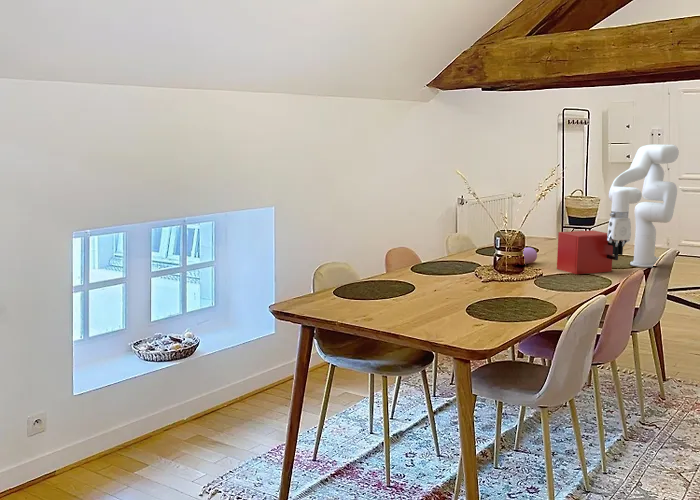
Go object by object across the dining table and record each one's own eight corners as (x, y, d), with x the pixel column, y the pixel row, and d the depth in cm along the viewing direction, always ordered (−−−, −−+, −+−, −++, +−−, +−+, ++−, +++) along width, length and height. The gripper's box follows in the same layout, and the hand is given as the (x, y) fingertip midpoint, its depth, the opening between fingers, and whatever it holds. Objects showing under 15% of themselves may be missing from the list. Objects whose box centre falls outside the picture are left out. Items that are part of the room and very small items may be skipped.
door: (620, 273, 332) (623, 236, 329) (585, 276, 325) (587, 238, 322) (610, 271, 339) (612, 234, 336) (575, 273, 332) (576, 236, 329)
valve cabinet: (609, 271, 339) (612, 233, 336) (574, 274, 332) (576, 236, 329) (590, 266, 352) (592, 230, 349) (556, 268, 345) (558, 232, 343)
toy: (524, 262, 366) (506, 266, 351) (525, 246, 366) (507, 248, 350) (539, 264, 362) (521, 267, 346) (540, 247, 361) (523, 250, 345)
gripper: (611, 216, 321) (608, 257, 324) (639, 215, 326) (636, 255, 329) (600, 215, 328) (598, 254, 331) (628, 213, 333) (625, 252, 336)
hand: (617, 254), depth 330 cm, fingers closed on door
